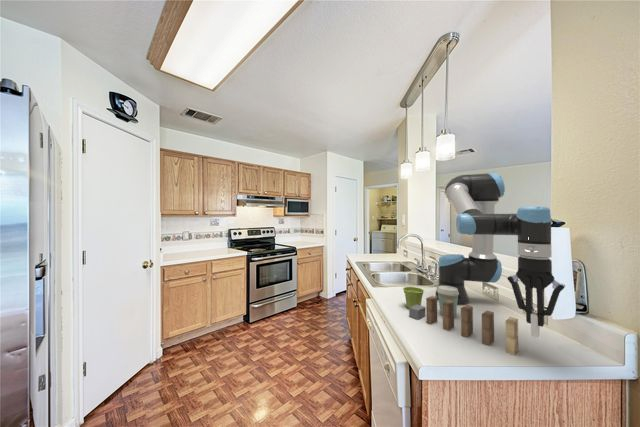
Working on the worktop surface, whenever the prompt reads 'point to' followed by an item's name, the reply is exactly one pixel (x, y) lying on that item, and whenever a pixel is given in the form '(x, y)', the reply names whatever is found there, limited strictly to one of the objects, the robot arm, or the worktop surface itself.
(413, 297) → the plant pot
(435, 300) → the tile
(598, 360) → the worktop surface
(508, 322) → the tile
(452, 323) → the tile
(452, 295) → the coffee cup
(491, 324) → the tile
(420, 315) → the block
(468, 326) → the tile
